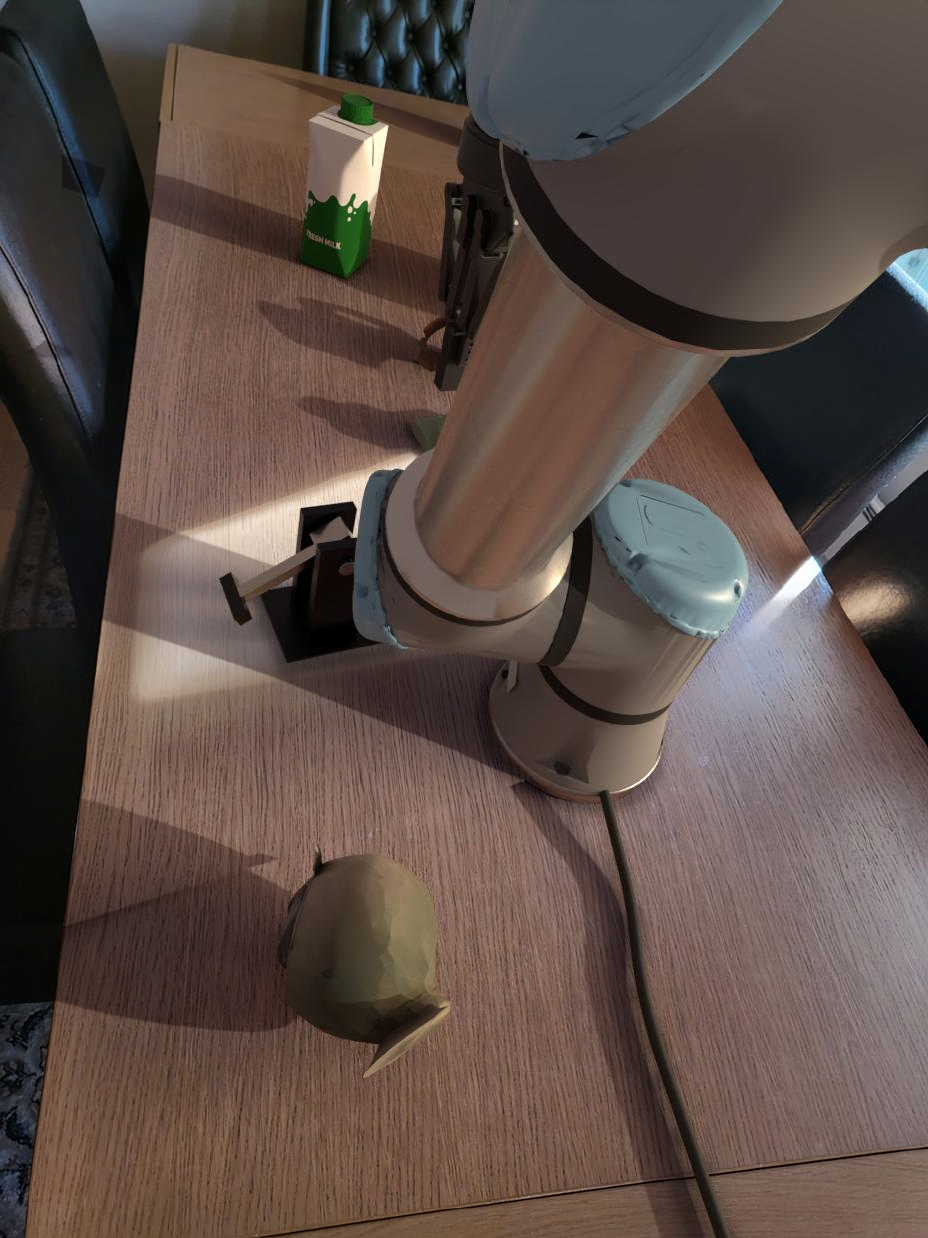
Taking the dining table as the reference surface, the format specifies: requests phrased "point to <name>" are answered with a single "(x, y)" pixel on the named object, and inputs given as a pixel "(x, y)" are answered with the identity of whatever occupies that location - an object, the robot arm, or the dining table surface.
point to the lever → (278, 571)
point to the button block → (428, 430)
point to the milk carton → (342, 185)
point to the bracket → (318, 592)
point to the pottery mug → (425, 354)
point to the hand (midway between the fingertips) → (449, 385)
